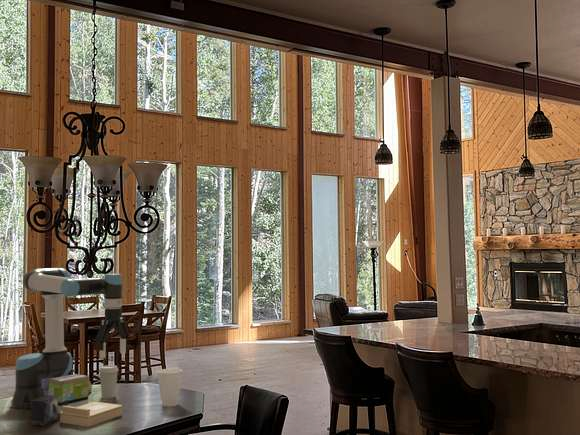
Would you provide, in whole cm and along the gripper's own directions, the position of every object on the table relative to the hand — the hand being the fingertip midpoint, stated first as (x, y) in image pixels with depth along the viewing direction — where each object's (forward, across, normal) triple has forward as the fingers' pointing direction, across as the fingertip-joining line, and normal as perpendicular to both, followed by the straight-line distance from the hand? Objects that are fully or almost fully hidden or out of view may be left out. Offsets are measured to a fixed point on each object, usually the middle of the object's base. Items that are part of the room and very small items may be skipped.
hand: (112, 355), depth 278 cm
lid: (+22, -10, +3) cm, 24 cm away
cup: (+26, +23, -14) cm, 38 cm away
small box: (+26, -23, +17) cm, 39 cm away
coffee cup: (+26, +24, +24) cm, 43 cm away
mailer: (+26, -10, +3) cm, 28 cm away
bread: (+26, +26, +46) cm, 59 cm away
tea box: (+26, -2, +24) cm, 36 cm away
